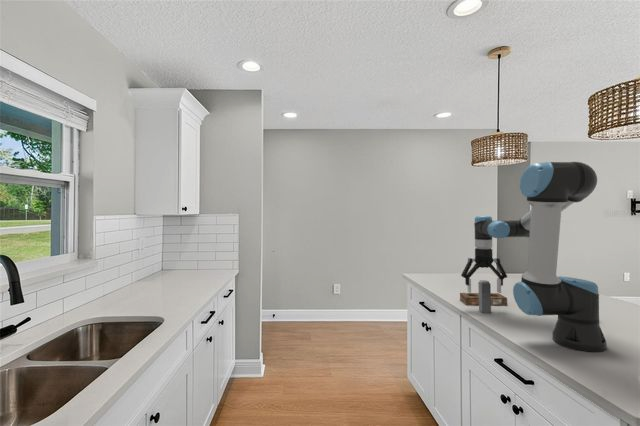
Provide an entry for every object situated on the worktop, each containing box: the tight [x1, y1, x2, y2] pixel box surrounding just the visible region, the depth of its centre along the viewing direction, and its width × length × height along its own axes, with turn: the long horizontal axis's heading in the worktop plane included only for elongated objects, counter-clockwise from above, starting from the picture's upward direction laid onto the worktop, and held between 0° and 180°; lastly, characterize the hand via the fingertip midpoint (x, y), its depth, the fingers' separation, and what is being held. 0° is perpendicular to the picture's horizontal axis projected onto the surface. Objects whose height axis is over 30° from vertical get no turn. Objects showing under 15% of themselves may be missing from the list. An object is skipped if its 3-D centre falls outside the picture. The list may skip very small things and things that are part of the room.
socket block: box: [459, 292, 508, 307], centre depth 170 cm, size 20×10×4 cm, turn 84°
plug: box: [477, 279, 492, 314], centre depth 155 cm, size 4×4×15 cm
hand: (484, 292), depth 155 cm, fingers open, 13 cm apart
